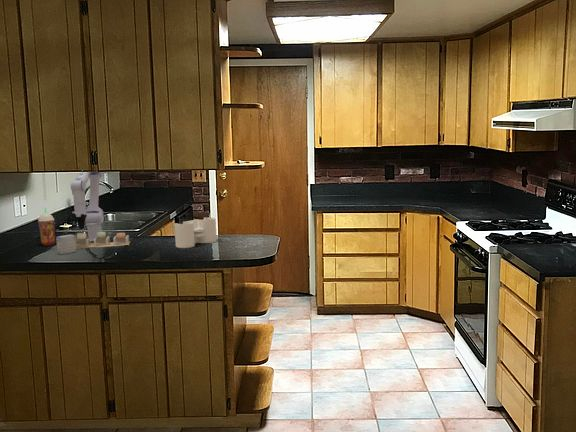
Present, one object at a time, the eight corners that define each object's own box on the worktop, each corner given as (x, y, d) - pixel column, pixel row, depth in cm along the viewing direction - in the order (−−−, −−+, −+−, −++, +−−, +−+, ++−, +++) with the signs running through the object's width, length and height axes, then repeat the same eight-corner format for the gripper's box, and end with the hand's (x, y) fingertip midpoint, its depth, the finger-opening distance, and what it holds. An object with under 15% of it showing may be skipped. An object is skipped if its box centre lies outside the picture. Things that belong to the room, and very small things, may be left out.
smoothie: (37, 245, 334) (34, 208, 332) (52, 242, 340) (48, 206, 338) (44, 246, 329) (41, 209, 326) (59, 244, 335) (56, 207, 332)
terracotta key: (117, 240, 329) (116, 233, 328) (126, 239, 329) (125, 232, 329) (116, 241, 324) (116, 234, 324) (125, 241, 325) (124, 233, 324)
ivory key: (78, 240, 325) (77, 233, 325) (87, 240, 326) (86, 232, 325) (77, 242, 321) (76, 234, 320) (85, 241, 322) (85, 233, 321)
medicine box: (71, 251, 312) (70, 234, 311) (76, 252, 309) (75, 235, 308) (57, 253, 306) (55, 236, 305) (62, 254, 303) (60, 237, 302)
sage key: (98, 239, 327) (97, 231, 326) (106, 238, 328) (105, 231, 327) (96, 240, 323) (96, 233, 322) (105, 240, 323) (104, 232, 323)
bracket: (186, 248, 307) (185, 224, 306) (173, 247, 313) (171, 223, 311) (220, 240, 327) (219, 218, 326) (207, 239, 333) (206, 217, 331)
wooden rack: (76, 245, 329) (75, 237, 329) (130, 241, 334) (129, 234, 333) (72, 249, 317) (71, 241, 317) (128, 245, 322) (127, 238, 321)
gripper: (74, 202, 327) (76, 227, 329) (69, 205, 313) (71, 231, 315) (87, 201, 328) (89, 226, 330) (83, 204, 314) (85, 230, 316)
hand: (81, 228), depth 323 cm, fingers closed
